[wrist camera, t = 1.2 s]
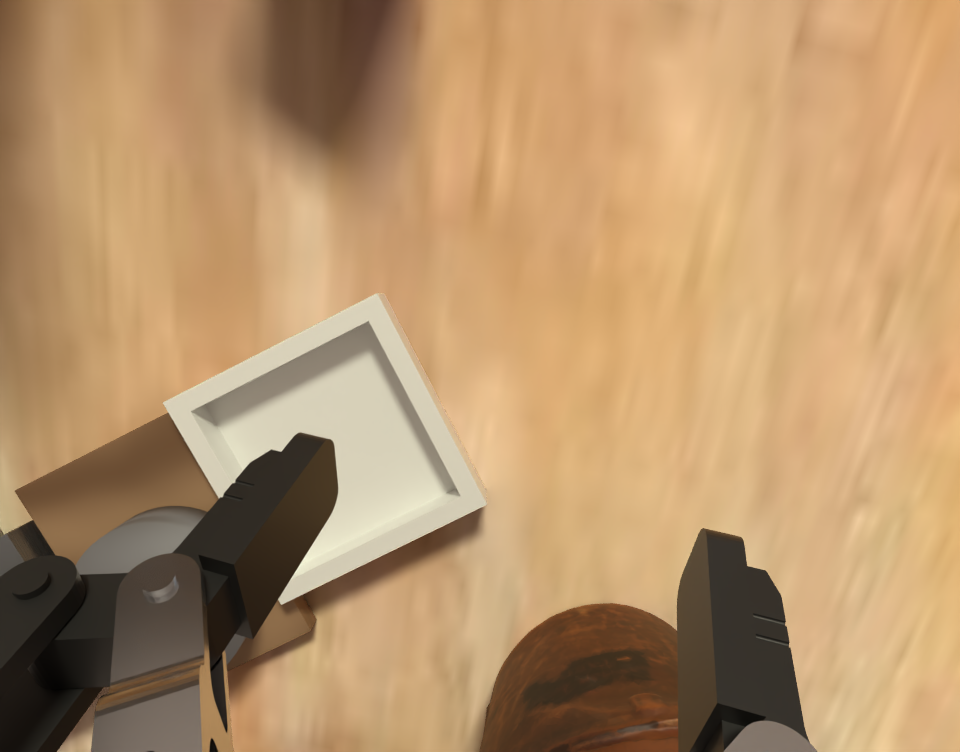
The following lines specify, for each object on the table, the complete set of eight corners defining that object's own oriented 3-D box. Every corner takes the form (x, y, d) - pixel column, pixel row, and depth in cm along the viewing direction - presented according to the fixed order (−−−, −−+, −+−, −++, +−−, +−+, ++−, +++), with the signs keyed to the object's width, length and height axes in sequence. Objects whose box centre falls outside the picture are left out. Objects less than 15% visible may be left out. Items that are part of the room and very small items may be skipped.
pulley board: (31, 483, 33) (-44, 515, 28) (190, 402, 33) (143, 421, 28) (163, 693, 35) (114, 756, 30) (316, 619, 34) (291, 671, 30)
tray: (186, 394, 32) (162, 402, 30) (384, 293, 32) (377, 293, 29) (295, 582, 34) (281, 604, 32) (485, 489, 33) (487, 504, 31)
